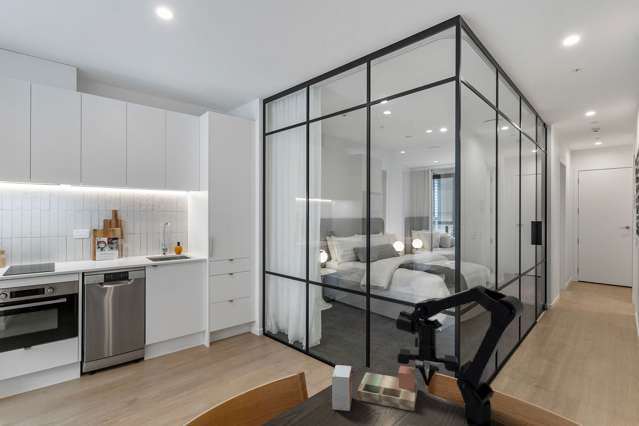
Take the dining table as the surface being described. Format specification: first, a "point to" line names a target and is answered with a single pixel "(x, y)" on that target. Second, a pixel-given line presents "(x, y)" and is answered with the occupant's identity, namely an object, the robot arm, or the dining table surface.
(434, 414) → the dining table surface
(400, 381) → the block
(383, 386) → the beige divided tray
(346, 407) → the small box
